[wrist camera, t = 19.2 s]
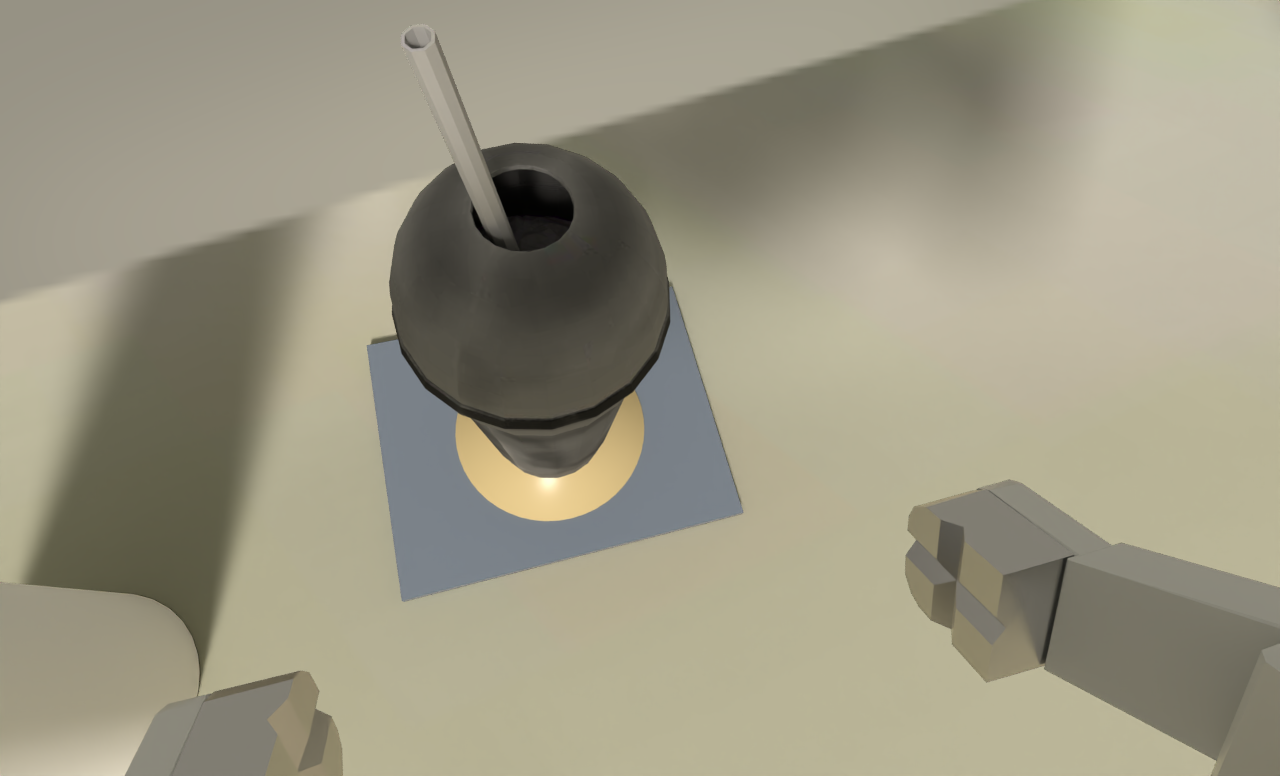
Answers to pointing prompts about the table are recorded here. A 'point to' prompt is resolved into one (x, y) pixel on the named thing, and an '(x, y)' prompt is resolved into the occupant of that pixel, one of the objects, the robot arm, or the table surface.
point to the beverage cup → (525, 286)
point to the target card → (543, 507)
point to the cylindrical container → (85, 677)
